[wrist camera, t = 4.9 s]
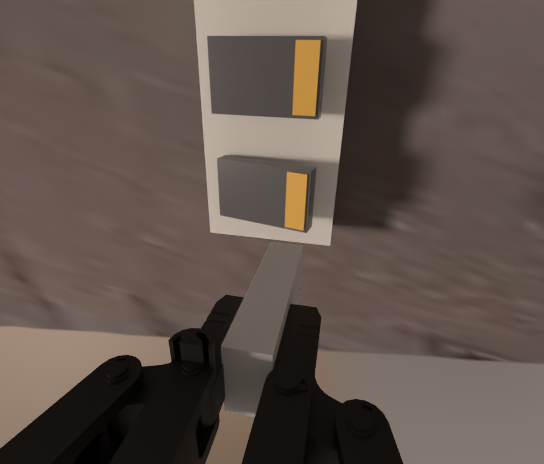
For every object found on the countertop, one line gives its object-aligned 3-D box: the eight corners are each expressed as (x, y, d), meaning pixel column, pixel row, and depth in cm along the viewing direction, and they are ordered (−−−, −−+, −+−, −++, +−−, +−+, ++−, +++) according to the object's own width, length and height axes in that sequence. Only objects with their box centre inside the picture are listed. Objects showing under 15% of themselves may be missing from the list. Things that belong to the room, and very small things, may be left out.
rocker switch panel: (201, -306, 18) (165, -396, 14) (394, -340, 16) (407, -453, 13) (225, 214, 32) (210, 232, 28) (332, 224, 30) (329, 245, 26)
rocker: (225, 155, 25) (216, 158, 24) (316, 166, 22) (310, 171, 21) (227, 209, 27) (219, 215, 26) (311, 226, 24) (306, 233, 23)
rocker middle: (215, 37, 21) (206, 35, 20) (327, 37, 19) (324, 35, 18) (218, 111, 23) (210, 113, 22) (320, 117, 21) (318, 119, 20)
